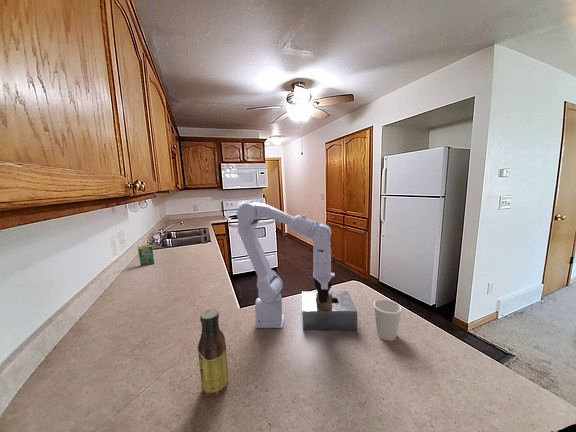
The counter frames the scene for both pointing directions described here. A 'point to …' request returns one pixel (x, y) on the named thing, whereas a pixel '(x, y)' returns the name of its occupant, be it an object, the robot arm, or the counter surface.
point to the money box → (329, 313)
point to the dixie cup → (387, 318)
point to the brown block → (325, 305)
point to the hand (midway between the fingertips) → (322, 300)
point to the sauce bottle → (212, 355)
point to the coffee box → (146, 255)
